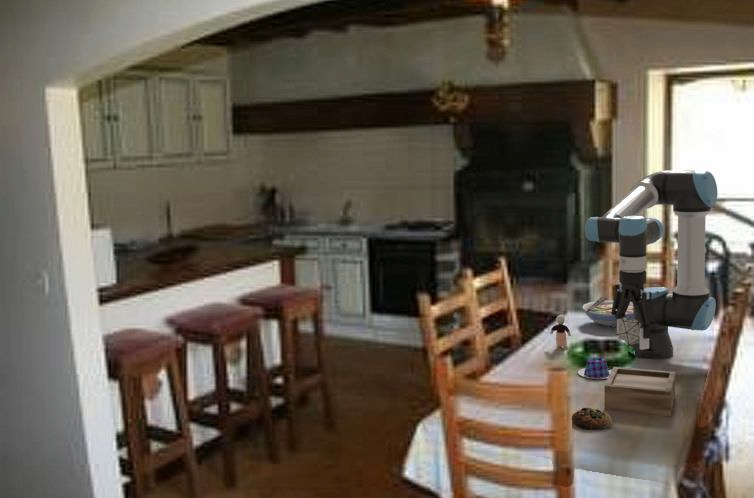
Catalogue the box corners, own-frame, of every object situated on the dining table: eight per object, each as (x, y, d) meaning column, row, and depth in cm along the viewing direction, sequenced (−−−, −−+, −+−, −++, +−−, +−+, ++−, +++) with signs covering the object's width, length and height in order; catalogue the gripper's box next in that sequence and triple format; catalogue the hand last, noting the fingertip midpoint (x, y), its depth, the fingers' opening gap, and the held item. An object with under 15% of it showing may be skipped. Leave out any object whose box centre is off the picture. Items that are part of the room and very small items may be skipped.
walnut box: (613, 388, 241) (613, 366, 240) (675, 394, 234) (675, 371, 232) (604, 409, 225) (604, 385, 224) (670, 416, 217) (670, 391, 216)
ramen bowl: (631, 335, 297) (631, 314, 296) (573, 329, 309) (573, 309, 308) (648, 320, 317) (648, 300, 316) (593, 314, 330) (593, 296, 329)
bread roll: (567, 428, 213) (568, 410, 213) (575, 418, 223) (576, 401, 223) (609, 434, 209) (610, 416, 208) (614, 424, 219) (615, 407, 218)
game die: (638, 358, 227) (652, 337, 220) (610, 348, 228) (622, 326, 221) (641, 336, 233) (654, 315, 226) (614, 326, 234) (626, 305, 227)
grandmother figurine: (571, 347, 286) (571, 314, 284) (571, 350, 283) (570, 316, 280) (550, 346, 289) (550, 313, 287) (549, 349, 285) (549, 315, 283)
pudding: (605, 367, 262) (605, 352, 262) (622, 378, 251) (622, 363, 250) (572, 371, 261) (571, 356, 260) (587, 382, 249) (586, 366, 248)
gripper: (598, 265, 233) (599, 336, 237) (647, 278, 212) (647, 356, 216) (619, 262, 235) (619, 333, 239) (669, 274, 214) (669, 352, 218)
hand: (632, 344), depth 227 cm, fingers closed on game die, 10 cm apart
